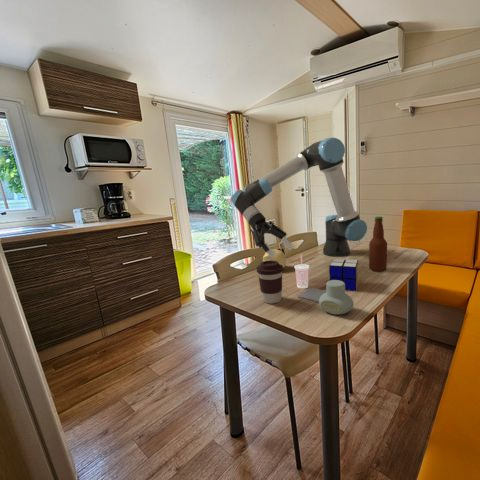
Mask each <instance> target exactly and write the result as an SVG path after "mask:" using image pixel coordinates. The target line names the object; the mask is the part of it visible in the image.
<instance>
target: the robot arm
mask: <svg viewBox="0 0 480 480" xmlns="http://www.w3.org/2000/svg"><path fill="white" fill-rule="evenodd" d="M345 153H346V147H345V145H344V143H343V141H341V140H340V139H339V138H337V137H326V138H324V139H321V140H319V141H316V142H313V143H312V144H310V145H309V146H308V147H306V148H305V149H303V150H302V151H300V152H299V153H297V154H296V157H294V158H292V159H291V160H288V161H287V162H284V164H282V165H281V166H279V167H277V168H275V169H273V170H271V171H270V172H268V173H266V174H265V175H264V176H262V177H259V178H258V179H256V180H255V181H253V182H252V183H248V184H246V185H245V187H244V188H243V189H244V190H242V189H238V190H235V191H234V192H233V193H232V195H230V201H231V203H232V204H233V205H234V208H235V209H236V210H238V213H239V214H241V215H242V217H243V218H244V219H245V220H246V222H247V223H248V224H249V226H251V228H250V230H249V231H250V232H251V234H252V237H253V240H254V243H255V246H256V247H258V248H259V249H261V248H262V249H263V250H264V252H265V253H266V252H267V253H268V255H269V256H270V257H271V258H273V257H274V256H275V255H276V254H275V252H274V251H273V250H272V249H273V248H272V247H271V246H270V245H269V244H268V242H266V241H265V234H268V235H271V236H272V235H273V236H274V237H275V238H279V239H280V242H281V243H282V244H283V245H284V247H285V248H286V249H287V250H288V251H289V252H290V251H291V250H293V248H294V245H293V244H292V243H291V242H290V240H288V238H287V237H286V236H287V235H288V234H287V232H286V231H284V230H282V229H281V228H280V227H278V226H277V225H276V224H274V223H273V222H272V220H271V221H270V220H269V222H267V221H266V217H265V215H263V213H261V210H259V208H258V207H257V206H256V205H255V204H256V203H258V202H260V201H261V200H262V199H264V198H265V197H267V196H268V195H269V194H270V193H271V192H272V191H273V188H274V187H276V186H277V185H279V184H282V182H285V181H286V180H288V179H289V178H291V177H292V176H294V175H296V174H298V173H300V172H302V171H307V170H308V169H310V168H313V167H316V166H318V168H319V171H320V172H322V173H323V174H324V176H325V180H326V183H327V186H328V189H329V194H330V197H331V199H332V203H333V206H334V208H335V209H334V210H335V213H336V214H332V215H331V214H330V215H327V216H326V217H325V220H324V221H325V223H324V224H325V242H324V246H323V249H322V250H323V251H322V254H323V255H325V256H329V257H346V256H349V255H351V249H350V245H349V242H358V241H360V240H362V239H363V238H364V237H365V235H366V234H367V232H368V225H367V222H366V221H364V220H363V219H361V218H360V217H361V216H360V214H359V212H358V211H356V210H355V207H354V204H353V200H352V198H351V195H350V192H349V188H348V184H347V181H346V177H345V174H344V170H343V164H344V157H345Z"/></svg>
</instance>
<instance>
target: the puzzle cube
mask: <svg viewBox="0 0 480 480" xmlns="http://www.w3.org/2000/svg"><path fill="white" fill-rule="evenodd" d="M328 270H329V281H330V280H339V281H342V282H344V283H345V291H352V292H356V291H357V288H358V285H359V259H350V258H348V259H345V258H333V259H332V261H331V262H330V264H329V269H328Z"/></svg>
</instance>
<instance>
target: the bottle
mask: <svg viewBox="0 0 480 480" xmlns="http://www.w3.org/2000/svg"><path fill="white" fill-rule="evenodd" d="M383 218H384V217H382V216H375V217H374V226H373V231H372V238H371V240H370V241H369V246H368V248H369V249H368V269H369V270H370V271H372V272H375V273H376V272H377V273H381V272H382V273H383V272H386V270H387V269H388V268H387V266H388V264H387V263H388V260H387V259H388V241H386V239H385V235H384V234H385V232H384V231H385V230H384V224H383V222H384V220H383Z"/></svg>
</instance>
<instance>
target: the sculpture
mask: <svg viewBox="0 0 480 480" xmlns="http://www.w3.org/2000/svg"><path fill="white" fill-rule="evenodd" d="M271 249H272V250H273V251H274V252H275V254H276V255H275V256H274V257H273V258H271V257H270V256H269V255H268V253H267V252H265V253H264V255H263V257H262V262H264V261H270V260H271V261H277V262H278V263H279V264H281V265H282V266H283V269H285V267H286V265H287V258H286V254H285V253H284V252H283V251H281V250H279V249H276V248H271Z"/></svg>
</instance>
